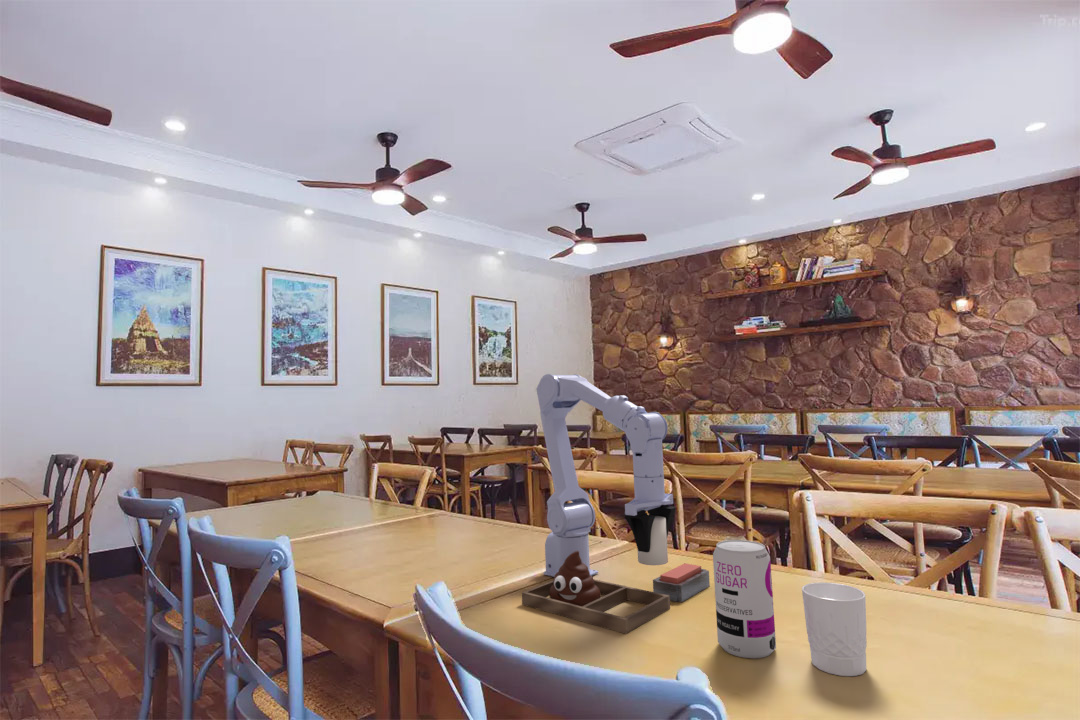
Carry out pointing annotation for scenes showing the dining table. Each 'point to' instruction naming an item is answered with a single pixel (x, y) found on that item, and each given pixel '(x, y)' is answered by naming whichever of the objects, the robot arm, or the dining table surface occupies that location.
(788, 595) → the dining table surface
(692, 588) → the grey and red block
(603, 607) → the divided tray
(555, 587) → the poop emoji
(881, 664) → the dining table surface
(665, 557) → the wax pillar
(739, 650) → the supplement can
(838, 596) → the white cup
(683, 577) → the bar
